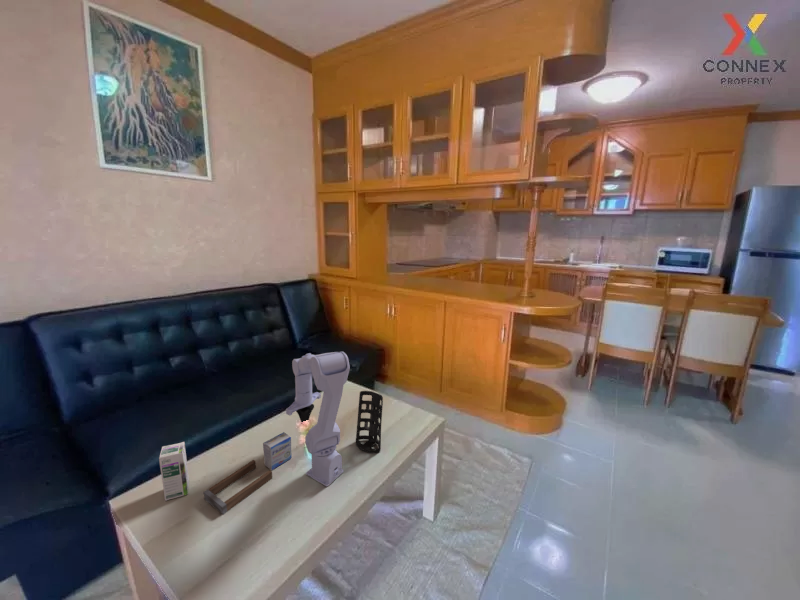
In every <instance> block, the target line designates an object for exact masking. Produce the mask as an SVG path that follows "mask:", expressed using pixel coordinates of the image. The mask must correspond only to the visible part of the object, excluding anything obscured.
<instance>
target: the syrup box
mask: <svg viewBox="0 0 800 600" xmlns="http://www.w3.org/2000/svg"><path fill="white" fill-rule="evenodd" d="M186 452H187V451H186V443H185V441H182V442H179V443H174V444H168V445H163V446H161V450H160V453H159V457H158V459H159V460H158V461H159V468H160V469H159V470H160V476H161V480H162V487H163V496H164V501H165V502H166V501H168V500H169V501H170V500H172V499H177V498H180V497H183V496H187V495H188V493H189V485H190V477H189V470H188V460H187V453H186Z"/></svg>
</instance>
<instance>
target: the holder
mask: <svg viewBox="0 0 800 600" xmlns="http://www.w3.org/2000/svg"><path fill="white" fill-rule="evenodd" d="M364 396H370V397H371V400H363V397H364ZM358 397H359V398H358V409H357V419H356V420H357V422H356V431H355V432H356V435H355V436H356V437H355V445H356V447H358V449H360V450H362V451H364V452H368V453H371V454H373V453H374V454H377V453H380V452H381V447H382V445H381V444H382V443H381V441H382V439H381V438H382V419H383V405H384V397H383V395H382V394H379V393H377V392H376V391H375V392H374V391H372V390H371V391H370V390H361V391H359V396H358ZM363 405H365V409H363V408H362V407H363ZM362 414H369V415H370V416H369V418H368V417H362ZM361 423H364V425H363V426H361ZM368 425H369V426H368ZM361 431H368V434H367V435H365V434H364V435H360V434H361V433H360V432H361ZM361 440H367V441H365V442H364V443H362V442H360V441H361ZM375 445H377V447H378V448H373V447H374V446H375Z"/></svg>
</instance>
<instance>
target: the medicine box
mask: <svg viewBox="0 0 800 600" xmlns="http://www.w3.org/2000/svg"><path fill="white" fill-rule="evenodd" d="M262 445H263V446H262V448H263V463H264V466H265V467H267V468H268V469H269V470H270V471H273V470H275V469H277V468H278V467H280V466H282V465H283V464H284V463H286V462H288V461H290V460H291V459H292V457H293V456H292V455H293V454H292V437H291V435H289V434H287V433H286V432H284V431H283V432H282V433H280V434H278V435H276V436H274V437H272V438H270V439H268V440H266V441H264V442H263V443H262Z"/></svg>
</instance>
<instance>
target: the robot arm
mask: <svg viewBox="0 0 800 600" xmlns="http://www.w3.org/2000/svg"><path fill="white" fill-rule="evenodd" d="M349 361H350V359H349V357H348V355H347V353H346V352H344V351H334V352H333V351H332V352H325V353H320V354H312V353H311V352H309V353H306V354H305V355H302V356H301V357H300V358H293V360H292V361H291V362H292V363H291V364H292V365H291V366H292V367H291V368H292V372H293V374H294V376H295V377H294V383H295V388H294V389H295V397H294V401H293V402H292V403H291V404H290V406H289V407H287V408H286V409H285V414H286V415H288V416H292V415H293V414H294V413H295V412H296V413H297V415H298V416H299V417H298V418H299V420H300V423H301V422H303V421H306V420H309V421H310V417H311V414H312V412H313V410H314V409H315V404H313V403H314V402H315V401H316V400H319V399H321V403H320V409H319V412H318V413H319V414H318V418H317V423H316V424H314V425H313V426H312V427H311V428H310V429H308V432H307V433H306V435H305V438H304V439H305V446H306V449H307V452H308V453H309V454H310V455H311V468H310V469H309V470H307V471H306V472H305V475H306V476H307V477H309V478H311V479H313V480H314V481H316V482H318V483H319V484H322V485H323V486H325V487H328V486H330V485H331V484H332V483H333V482H334V481H335V480H336V479H337V478H338V477H340V475H342V474H343V473H344V469H343V467H342V465H343V456H342V455H341V454H340V453H339V452H338V450H336V449H337V445H339V444H340V442H341V429H340V427H339V425H338V423H337V422H336V420H337V415H338V412H339V408H340V403H341V400H342V397H343V391H344V385H345V384H346V383H348V382H347V381H348V376H349V374H350V367H351V365H350V362H349ZM313 381H314V385H315V386H316V389H317V390H318V391H321V392H323V394H321V392H318V391H316V392H313ZM321 397H322V398H321Z"/></svg>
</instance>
